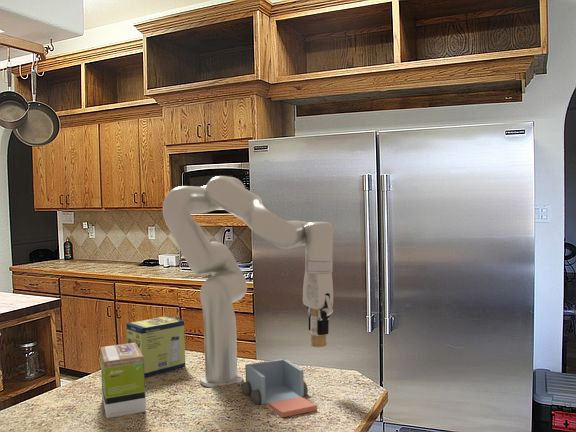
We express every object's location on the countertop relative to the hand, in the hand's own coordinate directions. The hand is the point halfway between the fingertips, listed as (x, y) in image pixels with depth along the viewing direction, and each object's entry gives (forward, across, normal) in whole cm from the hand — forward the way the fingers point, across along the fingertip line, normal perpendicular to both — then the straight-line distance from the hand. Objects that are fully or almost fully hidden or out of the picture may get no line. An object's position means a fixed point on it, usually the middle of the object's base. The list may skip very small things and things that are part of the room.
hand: (318, 331), depth 147 cm
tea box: (+18, -15, -50) cm, 56 cm away
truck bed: (+17, -2, -12) cm, 21 cm away
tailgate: (+16, +5, -12) cm, 21 cm away
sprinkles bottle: (+4, 0, 0) cm, 4 cm away
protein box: (+19, -42, -36) cm, 59 cm away
